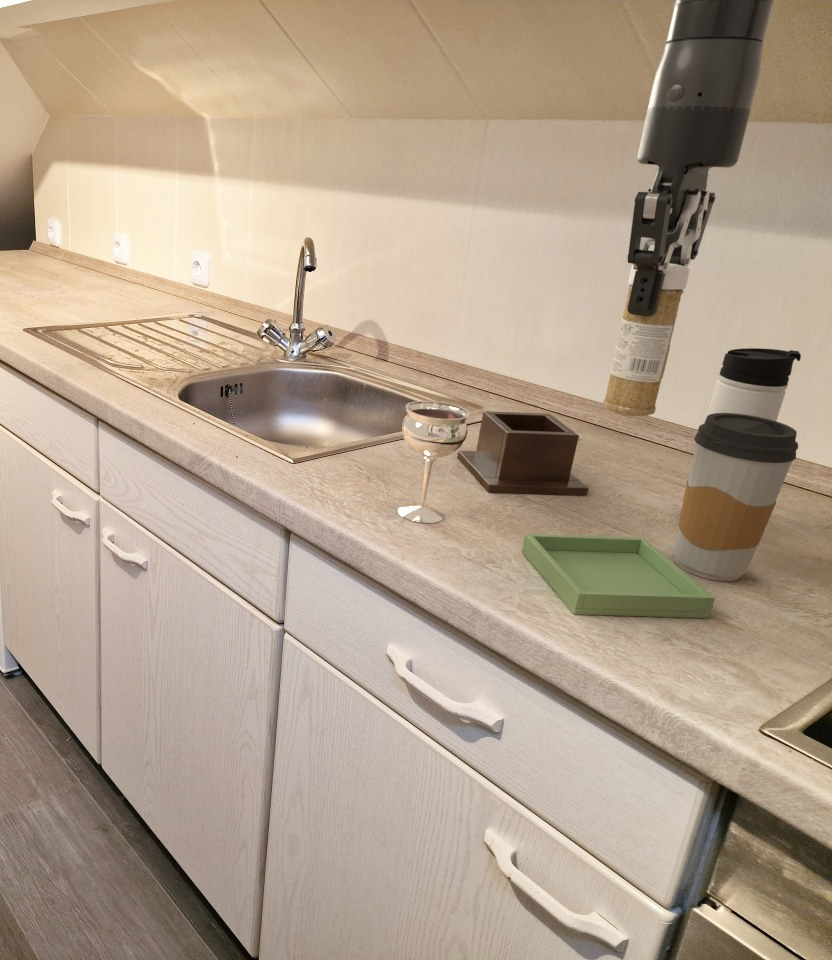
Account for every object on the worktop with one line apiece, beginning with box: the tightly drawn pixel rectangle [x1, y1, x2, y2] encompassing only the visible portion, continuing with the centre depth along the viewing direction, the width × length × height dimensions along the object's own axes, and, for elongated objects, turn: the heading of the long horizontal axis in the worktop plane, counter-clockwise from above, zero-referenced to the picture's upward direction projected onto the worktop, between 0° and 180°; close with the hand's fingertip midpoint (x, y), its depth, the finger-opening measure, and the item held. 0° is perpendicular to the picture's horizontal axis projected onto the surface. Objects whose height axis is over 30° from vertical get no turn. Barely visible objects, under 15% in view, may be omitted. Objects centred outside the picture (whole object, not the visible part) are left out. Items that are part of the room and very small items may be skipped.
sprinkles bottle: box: [602, 263, 690, 417], centre depth 77 cm, size 5×5×13 cm
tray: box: [521, 533, 716, 619], centre depth 81 cm, size 12×12×2 cm
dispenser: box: [456, 410, 589, 497], centre depth 106 cm, size 12×12×7 cm
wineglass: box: [397, 400, 471, 524], centre depth 92 cm, size 7×7×12 cm
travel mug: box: [678, 347, 802, 517], centre depth 92 cm, size 6×7×20 cm
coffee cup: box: [673, 413, 799, 582], centre depth 82 cm, size 8×8×15 cm
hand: (650, 311), depth 76 cm, fingers closed on sprinkles bottle, 4 cm apart
